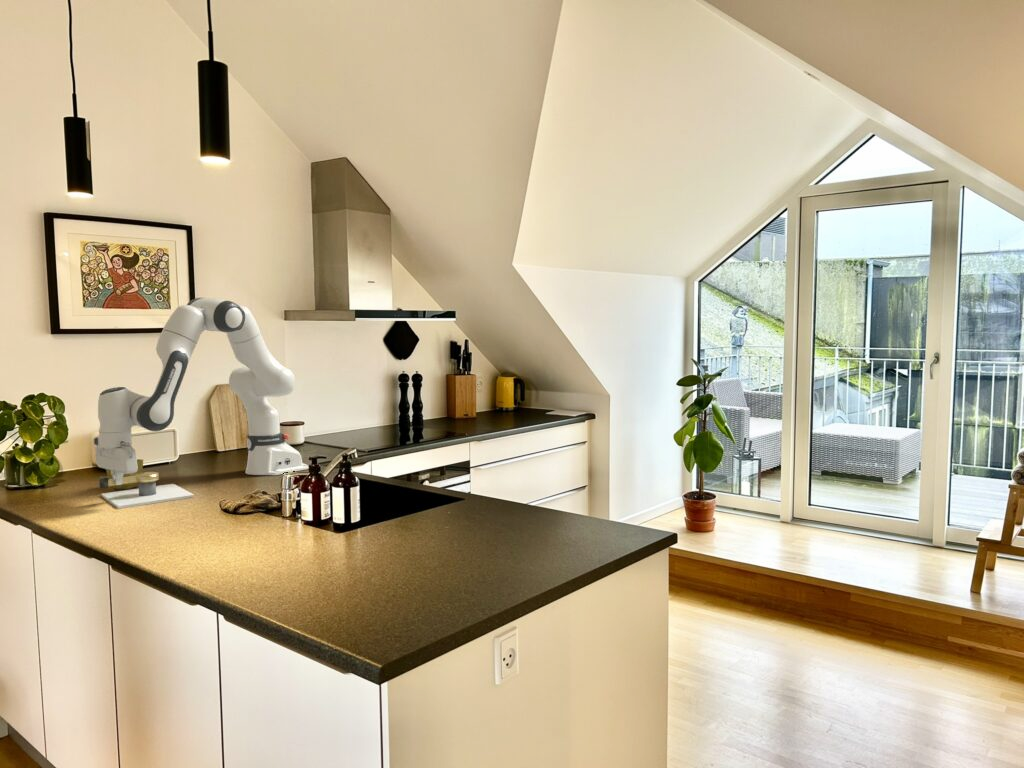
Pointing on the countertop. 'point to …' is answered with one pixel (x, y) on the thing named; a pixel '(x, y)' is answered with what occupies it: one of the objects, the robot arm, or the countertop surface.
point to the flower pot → (129, 485)
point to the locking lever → (131, 479)
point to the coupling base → (146, 495)
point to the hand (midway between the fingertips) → (117, 484)
